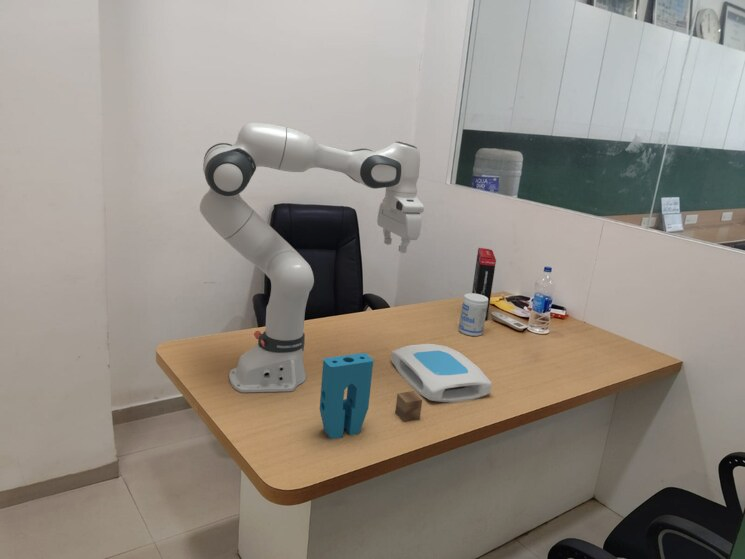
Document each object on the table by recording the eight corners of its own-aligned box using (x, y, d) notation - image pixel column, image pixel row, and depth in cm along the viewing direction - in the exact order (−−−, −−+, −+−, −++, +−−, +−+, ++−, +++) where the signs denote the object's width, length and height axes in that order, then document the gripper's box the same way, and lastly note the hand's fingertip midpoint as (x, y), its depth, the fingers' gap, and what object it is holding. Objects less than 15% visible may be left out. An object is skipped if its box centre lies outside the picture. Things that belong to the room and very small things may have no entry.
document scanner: (444, 358, 189) (447, 341, 187) (490, 397, 164) (494, 379, 162) (389, 363, 180) (391, 346, 179) (429, 406, 156) (432, 386, 154)
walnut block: (403, 422, 146) (405, 402, 144) (395, 412, 150) (397, 393, 149) (419, 419, 148) (422, 400, 146) (411, 410, 152) (413, 391, 151)
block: (358, 421, 144) (365, 352, 138) (367, 431, 140) (374, 360, 134) (316, 430, 138) (322, 358, 133) (324, 440, 134) (330, 367, 128)
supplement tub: (454, 332, 212) (460, 296, 208) (462, 325, 220) (467, 291, 216) (478, 339, 208) (484, 302, 204) (485, 331, 216) (491, 296, 212)
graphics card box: (487, 321, 228) (498, 258, 220) (471, 319, 228) (480, 256, 220) (483, 307, 244) (493, 249, 236) (468, 305, 245) (477, 247, 237)
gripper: (374, 194, 163) (370, 239, 167) (407, 207, 145) (401, 257, 149) (393, 195, 165) (388, 239, 169) (427, 207, 148) (421, 256, 152)
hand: (394, 248), depth 159 cm, fingers open, 8 cm apart
